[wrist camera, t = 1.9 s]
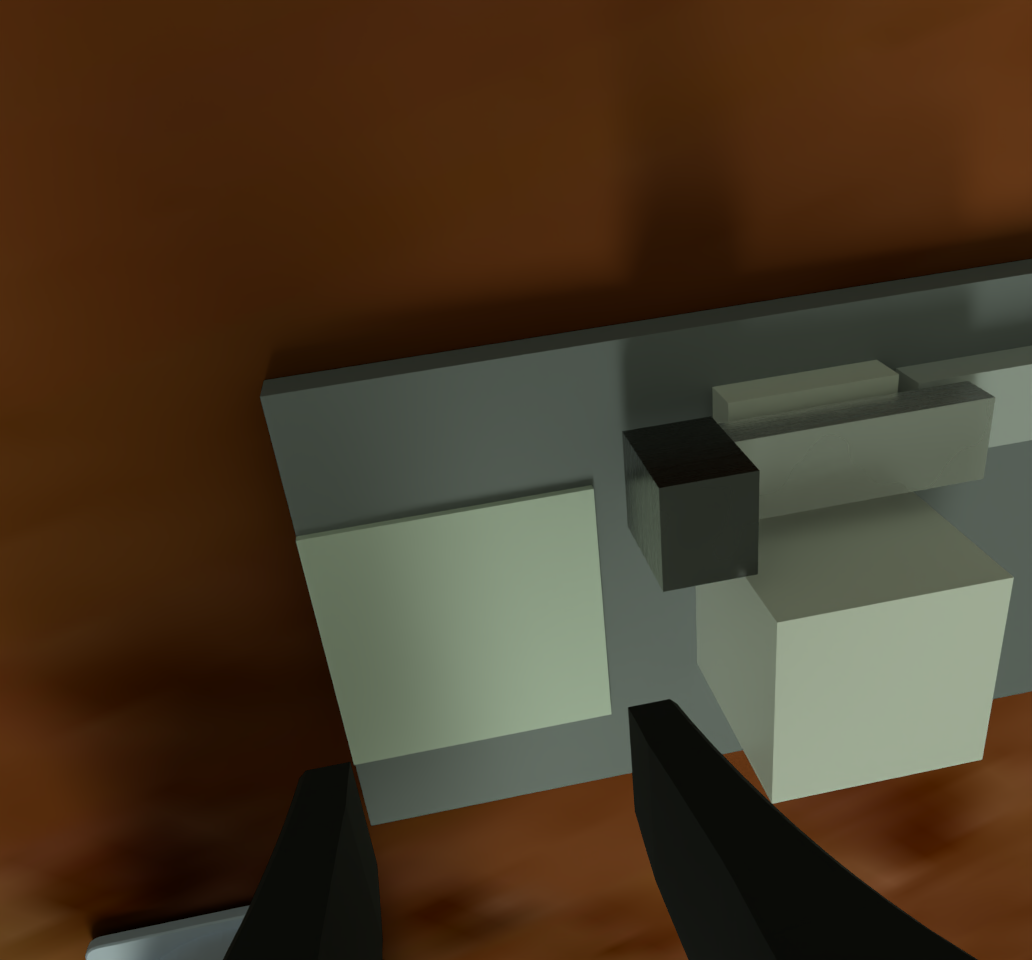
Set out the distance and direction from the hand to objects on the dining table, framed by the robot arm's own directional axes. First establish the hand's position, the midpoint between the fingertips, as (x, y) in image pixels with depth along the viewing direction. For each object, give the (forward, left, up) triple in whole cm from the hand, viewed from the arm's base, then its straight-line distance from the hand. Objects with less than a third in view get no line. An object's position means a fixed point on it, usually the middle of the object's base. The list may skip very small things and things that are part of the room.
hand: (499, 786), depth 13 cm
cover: (-3, -8, -9) cm, 13 cm away
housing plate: (-4, -7, -10) cm, 13 cm away
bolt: (0, -8, -8) cm, 11 cm away
